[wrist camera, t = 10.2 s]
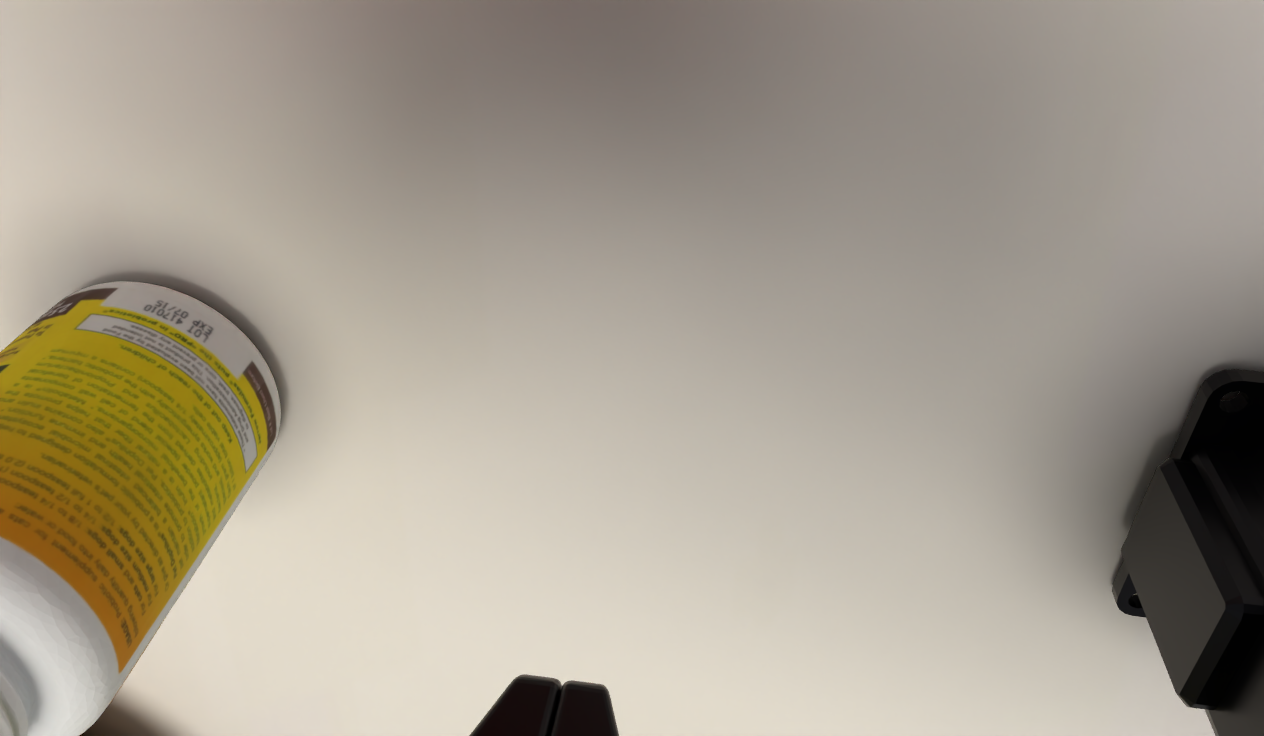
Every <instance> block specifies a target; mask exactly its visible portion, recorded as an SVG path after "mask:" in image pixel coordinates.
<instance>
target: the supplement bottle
mask: <svg viewBox="0 0 1264 736" xmlns="http://www.w3.org/2000/svg"><path fill="white" fill-rule="evenodd" d="M280 420H281V407H280V400H279V395H278V390H277V387H276V384H275V381H274V378H273V376H272V374H271V371H270V369H269V367H268V365H267V363H266V362H265V360H264V359H263V357H262V355H261V354H260V352H259V351H258V350H257V348H256V347H255V346H254V344H253V343H252V342H251V341H250V340H249V339H248V337H247V336H246V335H245V334H244V333H243V332H242V331H241V330H240V329H238V328H237V327H236V326H235V325H234V324H233V323H232V322H231V321H229V320H228V319H227V318H225V317H224V316H223V315H222V314H220V313H219V312H217V311H216V310H214V309H213V308H211V307H209V306H207V305H206V304H204V303H202V302H201V301H199V300H197V299H195V298H192V297H190V296H188V295H186V294H183V293H181V292H178V291H175V290H172V289H169V288H166V287H162V286H158V285H153V284H148V283H141V282H125V281H118V282H108V283H102V284H97V285H93V286H89V287H87V288H84V289H81V290H79V291H77V292H75V293H73V294H71V295H69V296H67V297H66V298H64V299H63V300H61V301H60V302H58V303H57V304H56V305H55V306H54V307H52V308H51V309H50V310H49V311H48V312H47V313H45V314H44V315H42V316H41V317H40V318H39V319H38V320H37V321H36V322H35V323H33V324H32V325H31V326H30V327H28V328H27V329H26V330H25V331H24V332H23V333H22V334H21V335H20V336H19V337H17V338H16V339H15V340H14V341H13V342H12V343H10V344H9V345H8V346H7V347H6V348H5V349H4V350H2V351H1V352H0V736H79V735H81V734H82V733H84V732H85V731H86V730H87V729H88V728H89V727H91V726H92V725H93V724H94V723H95V722H96V720H97V719H98V718H99V717H100V716H101V714H102V713H103V712H104V710H105V709H106V708H107V706H108V705H109V704H110V703H111V702H112V700H113V698H114V697H115V695H116V694H117V692H118V691H119V689H120V688H121V686H122V685H123V683H124V682H125V680H126V678H127V677H128V675H129V674H130V672H131V671H132V669H133V668H134V666H135V664H136V663H137V661H138V660H139V658H140V657H141V655H142V654H143V652H144V651H145V649H146V648H147V646H148V644H149V643H150V641H151V640H152V638H153V637H154V635H155V633H156V632H157V630H158V629H159V627H160V626H161V624H162V622H163V621H164V619H165V618H166V616H167V614H168V613H169V611H170V610H171V608H172V607H173V605H174V604H175V602H176V601H177V599H178V598H179V596H180V595H181V593H182V592H183V590H184V589H185V587H186V586H187V584H188V582H189V581H190V579H191V578H192V576H193V575H194V573H195V572H196V570H197V568H198V567H199V565H200V564H201V562H202V561H203V559H204V558H205V556H206V554H207V553H208V551H209V550H210V548H211V547H212V545H213V544H214V542H215V540H216V539H217V537H218V536H219V534H220V533H221V531H222V530H223V528H224V526H225V525H226V523H227V522H228V520H229V519H230V517H231V515H232V514H233V512H234V511H235V509H236V508H237V506H238V505H239V503H240V501H241V500H242V498H243V497H244V495H245V494H246V492H247V491H248V489H249V487H250V486H251V484H252V483H253V481H254V480H255V478H256V476H257V475H258V473H259V471H260V470H261V468H262V467H263V465H264V464H265V462H266V461H267V459H268V457H269V455H270V454H271V452H272V450H273V448H274V446H275V443H276V440H277V437H278V433H279V428H280Z"/></svg>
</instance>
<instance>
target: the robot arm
mask: <svg viewBox="0 0 1264 736" xmlns="http://www.w3.org/2000/svg"><path fill="white" fill-rule="evenodd" d="M1235 391H1240V392H1239V394H1238V395H1237V396H1236V397H1234V398H1232V399H1230V400H1225V401H1221V399H1222V398H1223V396H1224V395H1226V394H1228V393H1230V392H1235ZM1121 553H1122V556H1123V559H1124V560H1123V563H1122V565H1121V567H1120V569H1119V572H1118V574H1117V576H1116V578H1115V581H1114V583H1113V587H1112V592H1113V595H1114V598H1115V601H1116V603H1117V606H1118V608H1119V610H1121V611H1122V612H1124V613H1125V614H1129V615H1132V616H1139V617H1146V618H1147V620H1148V623H1149V625H1150V628H1151V630H1152V633H1153V635H1154V638H1155V640H1156V643H1157V646H1158V648H1159V651H1160V653H1161V656H1162V658H1163V661H1164V663H1165V666H1166V669H1167V671H1168V674H1169V676H1170V679H1171V681H1172V684H1173V686H1174V689H1175V691H1176V693H1177V695H1178V696H1179V697H1180V699H1181V700H1182V701H1183V702H1184V704H1185V705H1186V706H1188V707H1192V708H1200V709H1205V711H1206V713H1207V716H1208V718H1209V721H1210V723H1211V725H1212V728H1213V730H1214V733H1215V735H1216V736H1264V372H1258V371H1249V370H1239V369H1231V370H1223V371H1220V372H1217V373H1215V374H1213V375H1212V376H1210V377H1209V378H1208V379H1206V380H1205V382H1204V383H1203V384H1202V386H1201V387H1200V389H1199V392H1198V394H1197V396H1196V398H1195V401H1194V403H1193V405H1192V407H1191V410H1190V412H1189V414H1188V416H1187V419H1186V421H1185V423H1184V425H1183V428H1182V430H1181V432H1180V434H1179V437H1178V439H1177V441H1176V443H1175V446H1174V448H1173V450H1172V452H1171V455H1170V457H1169V459H1166V460H1165V461H1164V462H1163V463H1162V464H1161V465H1160V466H1158V468H1157V469H1156V471H1155V474H1154V476H1153V478H1152V481H1151V483H1150V485H1149V487H1148V490H1147V492H1146V494H1145V497H1144V499H1143V501H1142V503H1141V506H1140V508H1139V510H1138V512H1137V515H1136V517H1135V519H1134V522H1133V524H1132V526H1131V528H1130V531H1129V533H1128V535H1127V538H1126V540H1125V542H1124V544H1123V547H1122V550H1121ZM1136 593H1137V595H1133V594H1136ZM470 736H619V734H618V729H617V725H616V721H615V716H614V712H613V707H612V703H611V699H610V695H609V691H608V689H607V688H606V687H605V686H604V685H602V684H595V683H587V682H580V681H572V680H571V681H567V682H565V683H564V684H563V686H562V685H561V682H560V681H559V680H558V679H555V678H549V677H541V676H533V675H520V676H518V677H516V678H515V679H514V680H513V681H512V682H511V683H510V685H509V686H508V687H507V688H506V690H505V691H504V692H503V693H502V695H501V696H500V697H499V699H498V700H497V701H496V702H495V704H494V705H493V706H492V708H491V709H490V710H489V711H488V713H487V714H486V715H485V716H484V718H483V719H482V720H481V722H480V723H479V724H478V725H477V727H476V728H475V729H474V731H473V732H472V733H471V734H470Z"/></svg>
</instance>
